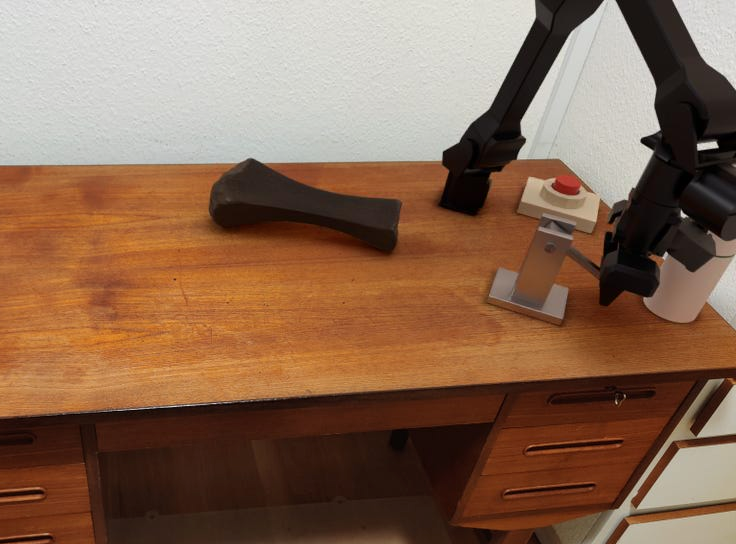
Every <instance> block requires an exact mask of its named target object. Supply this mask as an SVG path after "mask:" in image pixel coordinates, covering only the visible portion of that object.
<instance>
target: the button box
mask: <svg viewBox="0 0 736 544" xmlns="http://www.w3.org/2000/svg"><path fill="white" fill-rule="evenodd" d="M555 179H556V177H552V178H549V179H541V178H537V177H533V176H528V179H527V181H526V183H525V187H524V190H523V193H522V195H521V198H520V201H519V204H518V207H517V210H516V214H520V215H524V216H527V217H530V218H534V219H538V220H540V218H541V216H542V213H546V214H550V215H553V216H557V217H561V218H564V219H568V220H571V221H575V222H577V223H576V227H575V229H574V230H577V231H580V232H584V233H588V234H592V233H593V230H594V229H595V226H596V224H597V221H598V213H599V207H600V203H601V195H600V194H597V193H593V192H589V191H587V190H586V188H584V186H582V185H581V186H580V188H579V191H578V193H577V195H575V196H572V195H565V194H561V193H559V192H557V191H555V190H554V189H553V188H552V187H553V184H554V182H555Z"/></svg>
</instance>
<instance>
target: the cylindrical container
mask: <svg viewBox="0 0 736 544" xmlns="http://www.w3.org/2000/svg"><path fill="white" fill-rule="evenodd" d="M733 166H734V167H736V165H733ZM709 233H710V234H712V238H713V239H714V241H715V244H716V256H715V257H713V258H712V259H711V260H709V261H708V262H707V263H706V264H704V265H703V266H702V267H701V268H699V269H698V270H697V271H695V272H694V273H693V272H690V271H688V270H687V269H686V268H685V266H684V265H683V264H681V263H680V262H678V261H677V260H676V259H674V258H673V257H671V256H670V255H669V254H668V253H667V255H666V257H665V258H664V259H663V262H662V264H661V266H660V267H659V269H660V285H659V287H658V288H657V290H656V292H655V293H654V295H653V297H649V298H646V297H643V303H644V305H645V307H646V308H647V309H648V310H649V311H650V312H651V313H653V314H654V315H656V316H658V317H660V318H662V319H663V320H664V319H665V320H667V321H669V322H674V323H681V324H688V323H692V322H694V321H695V320H696V318H697V317H698V315H699V314H700V312H701V310H702V309H703V307H704V306H705V304H706V303H707V301H708V300H709V298H710V296H711V295H712V293H713V291H714V290H715V288H716V286H717V285H718V283H719V282H720V281H721V278H722V277H723V275H724V274H725V273H726V270H727V269H728V267H729V266H730V264H731V263H732V261H733V259H734V258H735V257H736V239H734V240H732V241H724V240H722V239H721V238H719V237H718V236H716V235H715V234H713V233H712V232H710V231H709V230H708V232H707V234H709Z"/></svg>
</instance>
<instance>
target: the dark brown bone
mask: <svg viewBox="0 0 736 544" xmlns="http://www.w3.org/2000/svg"><path fill="white" fill-rule="evenodd" d="M209 193H210V195H209V204H208V214H209V216H210V217H211V219H212V220H213V221H214V222H215V224H216V225H218V226H220V227H222V228H223V227H224V228H225V227H237V226H243V225H250V224H251V225H252V224H261V223H276V222H277V223H294V224H305V225H311V226H315V227H319V228H324V229H328V230H332V231H335V232H339V233H341V234H345V235H348V236H349V237H352V238H356V239H357V240H360V241H362V242H364V243H367V244H369V245H371V246H373V247H375V248H377V249H379V250H382V251H393V250H395V248H396V246H397V245H398V240H399V239H398V238H399V228H398V227H399V223H400V218H401V217H400V213H401V209H402V207H403V201H401V199H397V198H386V197H370V196H369V197H368V196H358V195H351V194H343V193H338V192H332V191H328V190H324V189H321V188H317V187H314V186H311V185H309V184H305V183H302V182H301V181H297V180H295V179H293V178H291V177H288V176H286V174H285V175H284V174H283V173H280V172H278V171H277V170H275V169H273V168H272V167H270V166H267V165H266V164H264V163H262V162H261V161H259V160H257V159H256V158H253V157H249V158H246V159H245V160H242V161H240V162H239V163H238V164H236V165H234V166H233V167H231V168H230V169H229V170H226V171H225V172H223V173H222V174H221V175H220V177H219V179H217V180H216V181H214V182H213V184H212V186H211V189H210V192H209Z"/></svg>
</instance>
